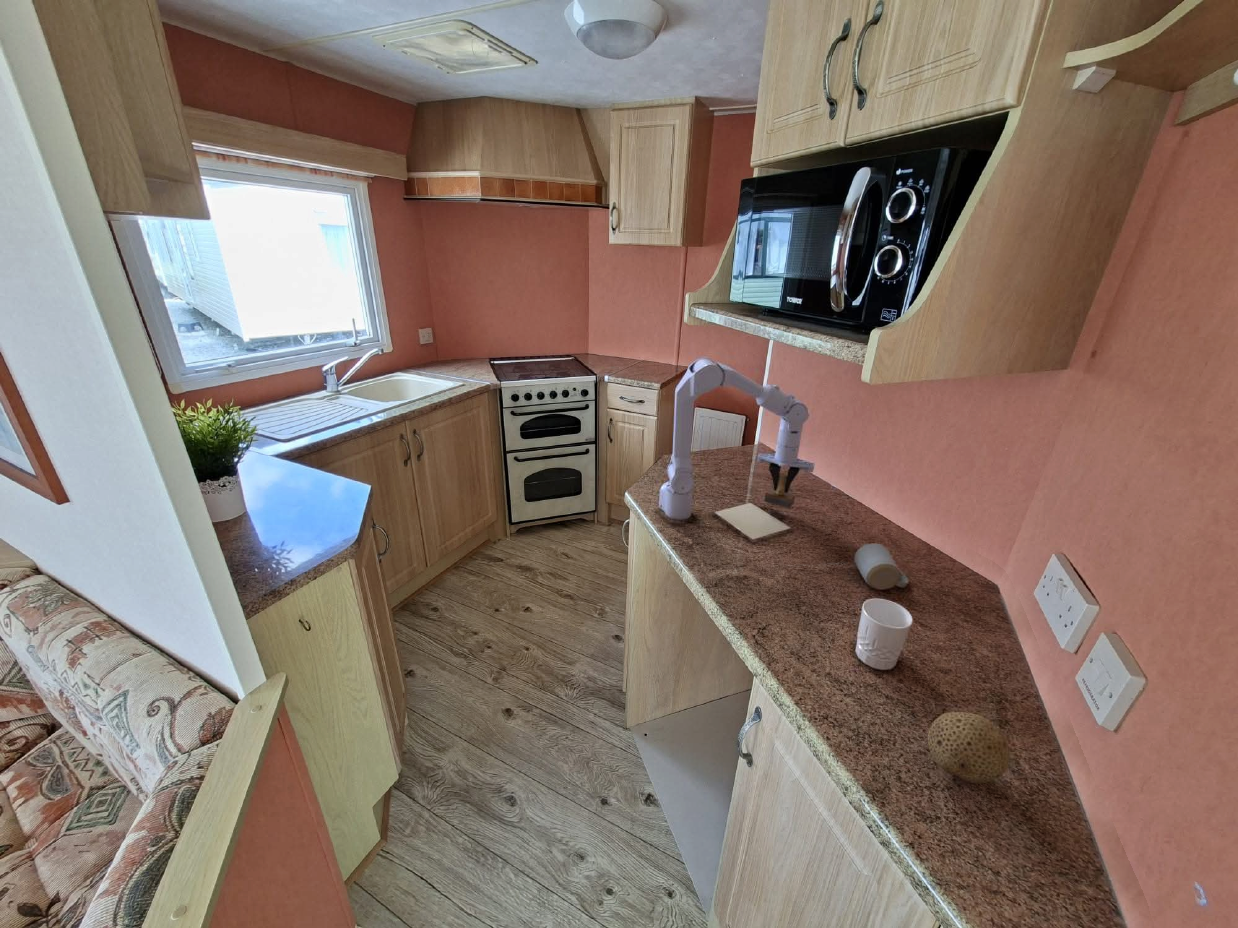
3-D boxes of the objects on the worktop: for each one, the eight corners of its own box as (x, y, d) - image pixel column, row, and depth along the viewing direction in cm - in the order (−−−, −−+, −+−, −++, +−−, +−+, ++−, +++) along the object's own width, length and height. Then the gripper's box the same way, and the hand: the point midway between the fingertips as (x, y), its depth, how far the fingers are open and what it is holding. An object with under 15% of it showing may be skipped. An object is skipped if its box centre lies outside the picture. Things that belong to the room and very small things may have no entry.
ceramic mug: (863, 591, 107) (871, 561, 104) (850, 569, 115) (857, 541, 112) (913, 594, 107) (923, 565, 104) (897, 572, 114) (905, 544, 111)
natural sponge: (952, 809, 65) (974, 758, 61) (905, 748, 73) (922, 699, 69) (1011, 797, 66) (1036, 746, 63) (958, 739, 75) (978, 690, 71)
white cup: (842, 646, 92) (852, 603, 88) (874, 636, 95) (885, 594, 91) (876, 678, 85) (889, 633, 81) (909, 665, 88) (923, 621, 84)
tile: (714, 515, 138) (714, 512, 138) (750, 506, 144) (750, 502, 143) (752, 543, 125) (752, 539, 125) (790, 531, 130) (790, 527, 130)
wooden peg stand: (764, 501, 136) (768, 473, 133) (768, 497, 139) (773, 469, 136) (789, 508, 132) (794, 480, 130) (793, 503, 136) (798, 475, 133)
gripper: (757, 443, 130) (751, 489, 135) (814, 453, 123) (806, 501, 129) (763, 435, 135) (757, 480, 141) (818, 445, 129) (810, 491, 134)
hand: (781, 490), depth 135 cm, fingers closed on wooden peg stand, 2 cm apart
